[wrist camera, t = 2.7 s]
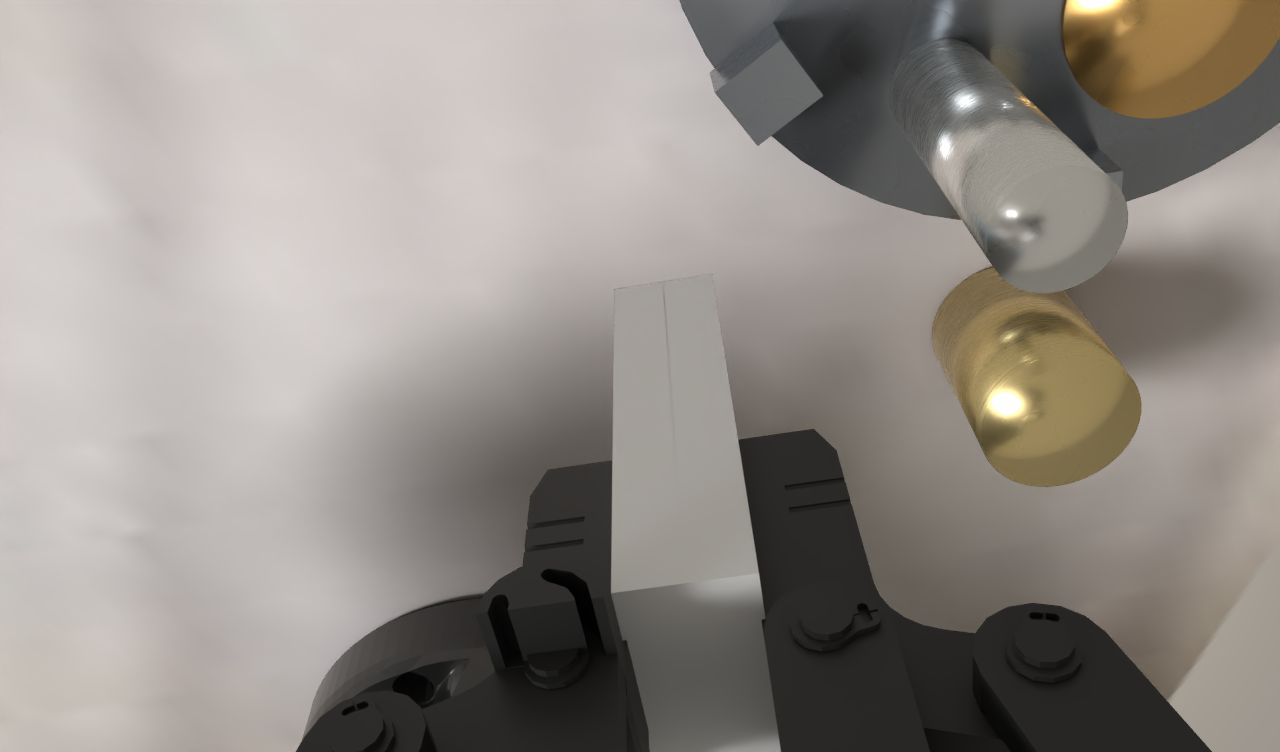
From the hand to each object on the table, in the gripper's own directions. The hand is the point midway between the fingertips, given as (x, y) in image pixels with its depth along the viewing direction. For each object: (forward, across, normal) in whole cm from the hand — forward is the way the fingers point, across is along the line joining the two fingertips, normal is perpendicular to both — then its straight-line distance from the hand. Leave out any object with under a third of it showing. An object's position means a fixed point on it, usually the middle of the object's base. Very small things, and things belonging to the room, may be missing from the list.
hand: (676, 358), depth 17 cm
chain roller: (+13, +9, -8) cm, 18 cm away
